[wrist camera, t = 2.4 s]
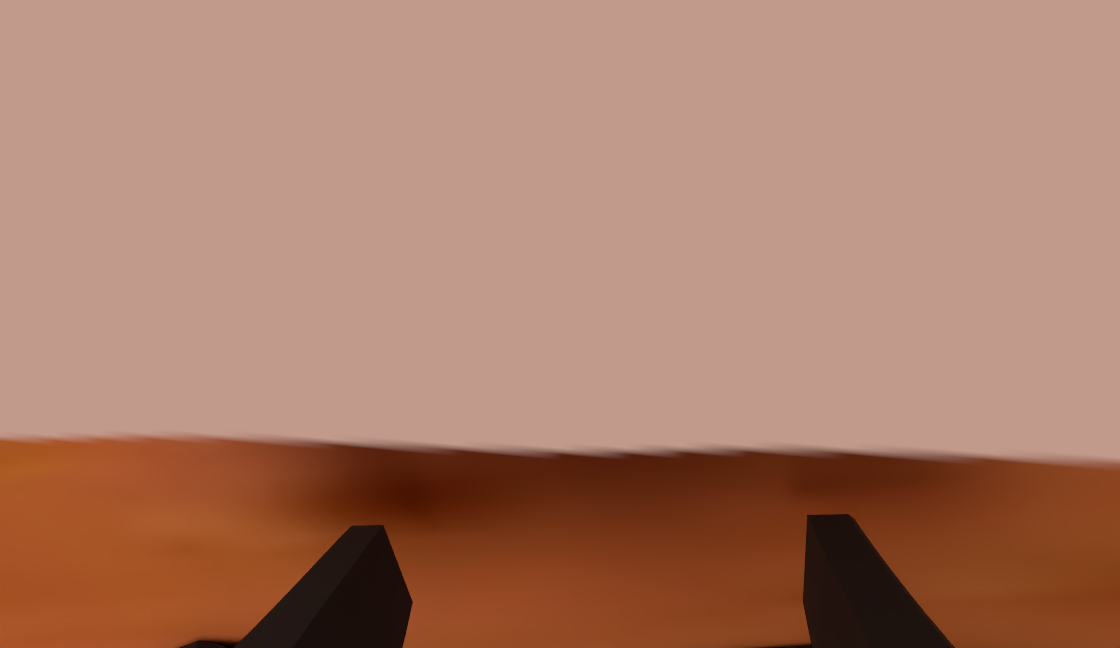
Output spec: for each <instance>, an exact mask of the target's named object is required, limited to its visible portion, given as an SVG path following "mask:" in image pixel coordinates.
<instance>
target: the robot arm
mask: <svg viewBox="0 0 1120 648" xmlns="http://www.w3.org/2000/svg"><path fill="white" fill-rule="evenodd" d="M412 603H413V602H412V599H411V596H410V594H409V591H408V589H407V586H406V583H405V581H404V578H403V576H402V573H401V570H400V568H399V565H398V562H397V560H396V557H395V555H394V552H393V549H392V547H391V544H390V541H389V539H388V536H387V534H386V531H385V528H384V526H383V525H367V526H351V527H350V528H349V529H348V530H347V531H346V532H345V533H344V534H343V535H342V536H341V537H340V538H339V539H338V540H337V541H336V542H335V543H334V544H333V546H332V547H331V548H330V549H329V550H328V551H327V552H326V553H325V554H324V555H323V556H322V557H321V558H320V559H319V560H318V561H317V563H316V564H315V565H314V566H313V567H312V568H311V569H310V570H309V571H308V572H307V573H306V574H305V575H304V576H303V577H302V578H301V580H300V581H299V582H298V583H297V584H296V585H295V586H294V587H293V588H292V589H291V590H290V591H289V592H288V593H287V594H286V595H285V596H284V597H283V598H282V599H281V600H280V601H279V603H278V604H277V605H276V606H275V607H274V608H273V609H272V610H271V611H270V612H269V613H268V614H267V615H266V616H265V617H264V618H263V619H262V620H261V621H260V622H259V623H258V624H257V625H256V626H255V627H254V628H253V629H252V630H251V631H250V632H249V633H248V634H247V635H246V636H245V637H244V638H243V639H242V640H241V641H240V642H239V643H238V644H237V645H236V646H235V647H234V648H402V647H403V643H404V639H405V635H406V630H407V626H408V621H409V616H410V612H411V607H412ZM803 604H804V609H805V614H806V619H807V624H808V629H809V634H810V639H811V644H812V648H955V647H954V646H953V645H952V644H951V643H950V641H949V640H948V639H947V638H946V637H945V636H944V634H943V633H942V632H941V631H940V630H939V628H938V627H937V626H936V625H935V624H934V622H933V621H932V620H931V619H930V618H929V617H928V615H927V614H926V613H925V612H924V611H923V609H922V608H921V607H920V606H919V605H918V603H917V602H916V601H915V600H914V598H913V597H912V596H911V595H910V593H909V592H908V591H907V590H906V588H905V587H904V586H903V584H902V583H901V582H900V581H899V579H898V578H897V577H896V575H895V574H894V573H893V572H892V570H891V569H890V568H889V566H888V565H887V564H886V562H885V561H884V560H883V558H882V557H881V556H880V554H879V553H878V552H877V550H876V549H875V548H874V546H873V545H872V543H871V542H870V541H869V539H868V538H867V536H866V535H865V534H864V532H863V531H862V529H861V528H860V526H859V525H858V524H857V522H856V521H855V519H853V518H852V517H851V516H850V515H848V514H836V515H807V533H806V553H805V572H804V591H803Z"/></svg>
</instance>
